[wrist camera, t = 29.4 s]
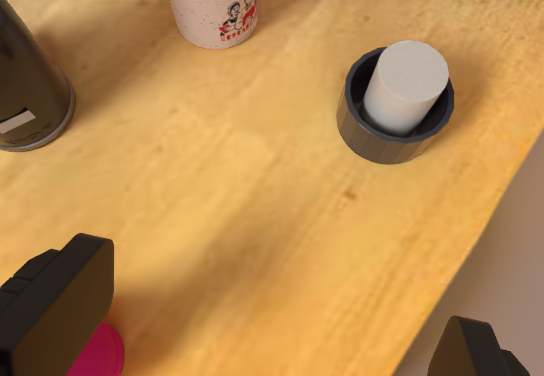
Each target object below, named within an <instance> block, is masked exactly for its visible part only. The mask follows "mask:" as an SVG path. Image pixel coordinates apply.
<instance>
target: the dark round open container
mask: <svg viewBox="0 0 544 376" xmlns="http://www.w3.org/2000/svg"><path fill="white" fill-rule="evenodd" d="M386 48H387V47H383V48H377V49H375V50H373V51H371V52H369V53H366V54H364V55H363V56H362V57H361V58H360V59H359V60H358V61H356V62H355V63H354V64H353V66H352V67H351V69H350V71H349V73H348V75H347V77H346V80H345V83H344V87H343V90H342V93H341V96H340V100H339V103H338V109H337V125H338V129H339V132H340V134H341V136H342V138H343V140H344V141H345V142H346V144H347V145H348V146H349V147H350V148H351V149H352V150H353V151H354V152H355V153H356V154H358V155H359V156H361V157H363V158H365V159H367V160H369V161H372V162H375V163H379V164H387V165H388V164H400V163H404V162H407V161H409V160H412V159H414V158H415V157H417V156H418V155H420V154H421V153H422V152H423V151H424V150H425V149H426V148H427V147H428V145H429V144H430V143H431V142H432V141H433V140H434V139H435V137H436V136H437V135H438V134H439V132H440V131H441V130H442V129H443V128H444V126H445V125H446V124H447V123H448V121H449V119H450V117H451V114H452V112H453V109H454V90H453V87H452V84H451V81H450V78H449V77H448V82H447V85H446V87H445V88H444V90H443V91H442V93H441V94H440V95H439V97H438V98H437V100H436V101H435V103H434V104H433V105H432V107H431V108H430V110H429V111H428V112H427V114H426V115H425V117H424V118H423V120H422V121H421V122H420V124H419V125H418V127H417V128H416V129H415V131H414V132H413V134H412V135H411V136H410V137H409V138H400V137H393V136H388V135H385V134H383V133H381V132H379V131H376V130H374V129H373V128H372V127H370V126H369V125H368V124H367V123H366V122H364V121H363V120H362V119H361V117H360V116H359V114H358V112H359V108H360V105H361V103H362V100H363V98H364V95H365V93H366V90H367V88H368V85H369V83H370V80H371V78H372V75H373V73H374V70H375V68H376V65H377V63H378V60H379V58H380V56H381V54H382V53H383V51H384V50H385V49H386Z"/></svg>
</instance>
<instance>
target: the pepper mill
mask: <svg viewBox="0 0 544 376" xmlns="http://www.w3.org/2000/svg"><path fill="white" fill-rule="evenodd" d="M123 363H124V347H123V343H122V340H121V338H120V336H119V334H118V333H117V331H116V330H115V329H114V328H113V327H111V326H110V325H109V324H107V323H106V322H103V321H102V322H101V324H100V325H99V327H98V328H97V330H96V331H95V333H94V334H93V336H92V337H91V339H90V340H89V341H88V343H87V344H86V346H85V347H84V349H83V350H82V352H81V353H80V355H79V356H78V358H77V359H76V361H75V362H74V364H73V365H72V367H71V368H70V370H69V371H68V372H67V374H66V375H65V376H119V375H120V373H121V370H122V368H123Z"/></svg>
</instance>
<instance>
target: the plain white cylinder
mask: <svg viewBox="0 0 544 376" xmlns="http://www.w3.org/2000/svg"><path fill="white" fill-rule="evenodd" d="M448 77H449V71H448V66H447V63H446V61H445V59H444V58H443V56H442V55H441V54H440V53H439V52H438V51H437V50H436V49H435V48H433V47H432V46H430V45H428V44H426V43H424V42H420V41H416V40H404V41H399V42H396V43H394V44H392V45H390V46H389V47H387V48H386V49H385V50H384V51H383V53H382V54H381V56H380V58H379V60H378V63H377V65H376V68H375V70H374V73H373V75H372V78H371V80H370V83H369V85H368V88H367V90H366V93H365V95H364V98H363V100H362V103H361V105H360V108H359V112H358V114H359V116H360V117H361V119H362V120H363V121H364V122H366V123H367V124H368V125H369V126H370V127H372V128H373V129H374V130H376V131H379V132H381V133H383V134H385V135H388V136H393V137H400V138H409V137H410V136H411V135H412V134H413V132H414V131H415V129H416V128H417V127H418V125H419V124H420V122H421V121H422V120H423V118H424V117H425V115H426V114H427V112H428V111H429V110H430V108H431V107H432V105H433V104H434V103H435V101H436V100H437V98H438V97H439V95H440V94H441V93H442V91H443V90H444V88H445V87H446V85H447V82H448Z"/></svg>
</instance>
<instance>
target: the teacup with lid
mask: <svg viewBox="0 0 544 376" xmlns="http://www.w3.org/2000/svg"><path fill="white" fill-rule="evenodd" d="M169 1H170V5H171V8H172V12H173V16H174V19H175V23H176V26H177V28H178V30H179V31H180V33H181V34H182V35H183V37H184V38H186V39H187V40H188V41H189V42H191V43H192V44H194V45H196V46H199V47H202V48H206V49H215V50H217V49H226V48H230V47H233V46H235V45H237V44H239V43H241V42H242V41H244V40H245V39H246V38H247V37H248V36H249V35H250V34H251V33H252V31H253V30H254V28H255V26H256V24H257V20H258V0H169Z"/></svg>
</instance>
